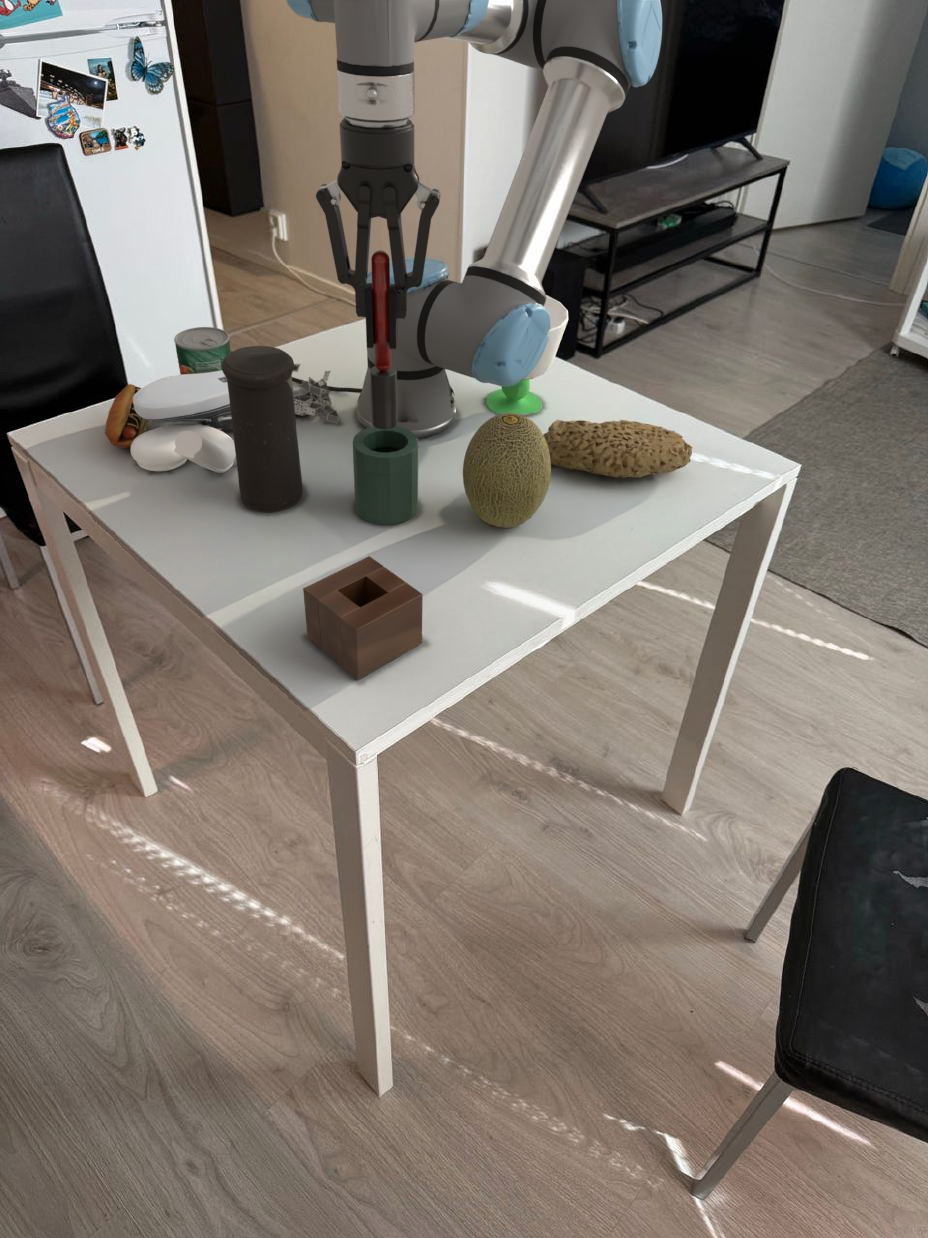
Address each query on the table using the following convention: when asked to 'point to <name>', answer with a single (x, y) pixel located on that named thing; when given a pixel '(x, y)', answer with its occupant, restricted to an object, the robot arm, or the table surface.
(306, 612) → the holder
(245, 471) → the container
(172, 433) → the sculpture
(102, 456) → the table surface
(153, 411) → the boat shoe
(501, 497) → the fruit
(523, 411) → the cup
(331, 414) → the house of cards
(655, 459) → the sponge
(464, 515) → the table surface
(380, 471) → the green hollow cylinder
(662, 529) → the table surface
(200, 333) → the canned tomato
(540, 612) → the table surface
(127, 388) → the hot dog
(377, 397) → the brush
